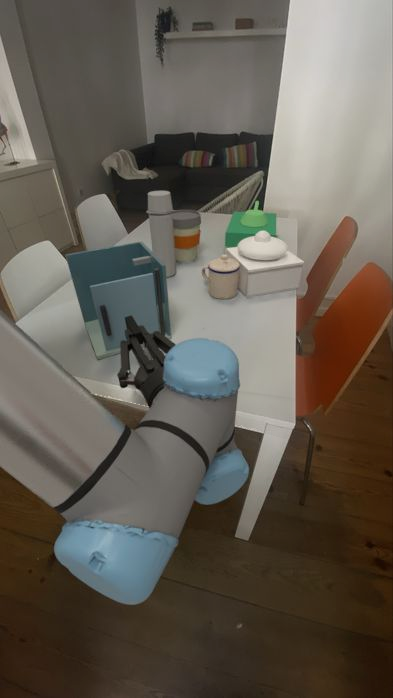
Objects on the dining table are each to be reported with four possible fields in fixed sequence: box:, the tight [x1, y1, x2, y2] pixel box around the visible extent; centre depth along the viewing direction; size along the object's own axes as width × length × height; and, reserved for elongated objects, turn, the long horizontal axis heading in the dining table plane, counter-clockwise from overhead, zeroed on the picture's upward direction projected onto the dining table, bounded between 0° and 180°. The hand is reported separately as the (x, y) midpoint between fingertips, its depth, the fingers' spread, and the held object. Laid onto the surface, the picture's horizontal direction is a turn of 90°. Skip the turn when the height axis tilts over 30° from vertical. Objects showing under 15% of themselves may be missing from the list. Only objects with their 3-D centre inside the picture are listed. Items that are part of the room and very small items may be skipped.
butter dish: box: [224, 231, 305, 298], centre depth 96 cm, size 18×18×16 cm
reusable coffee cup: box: [171, 209, 202, 262], centre depth 114 cm, size 13×13×15 cm
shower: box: [64, 241, 172, 360], centre depth 75 cm, size 18×16×19 cm
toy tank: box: [224, 200, 277, 249], centre depth 127 cm, size 18×12×35 cm
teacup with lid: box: [201, 253, 240, 300], centre depth 93 cm, size 12×9×12 cm
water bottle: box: [145, 190, 177, 279], centre depth 100 cm, size 9×8×25 cm
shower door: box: [90, 273, 159, 351], centre depth 69 cm, size 13×2×16 cm, turn 116°
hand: (129, 322), depth 64 cm, fingers closed
